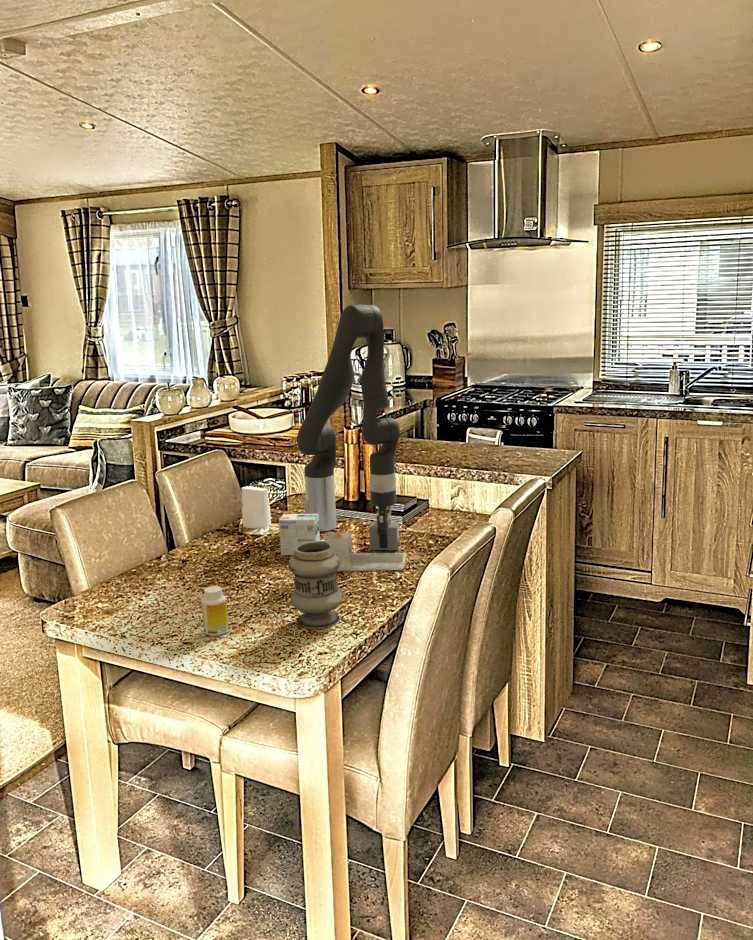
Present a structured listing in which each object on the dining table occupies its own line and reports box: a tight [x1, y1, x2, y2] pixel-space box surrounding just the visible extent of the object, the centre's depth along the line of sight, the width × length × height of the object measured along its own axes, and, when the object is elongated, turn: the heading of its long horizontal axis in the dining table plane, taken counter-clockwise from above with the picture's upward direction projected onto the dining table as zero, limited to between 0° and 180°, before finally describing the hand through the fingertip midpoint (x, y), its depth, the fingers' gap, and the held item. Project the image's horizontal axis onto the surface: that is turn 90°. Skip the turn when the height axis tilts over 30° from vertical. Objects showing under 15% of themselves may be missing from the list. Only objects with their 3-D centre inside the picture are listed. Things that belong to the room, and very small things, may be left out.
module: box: [368, 521, 400, 551], centre depth 246 cm, size 8×6×7 cm
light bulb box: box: [278, 513, 321, 556], centre depth 245 cm, size 11×7×11 cm, turn 84°
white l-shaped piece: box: [325, 531, 407, 572], centre depth 233 cm, size 22×12×9 cm, turn 84°
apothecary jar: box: [288, 540, 344, 630], centre depth 194 cm, size 12×12×18 cm
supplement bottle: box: [200, 585, 230, 637], centre depth 191 cm, size 6×6×10 cm
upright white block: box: [241, 485, 272, 529], centre depth 274 cm, size 9×9×12 cm
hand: (384, 543), depth 247 cm, fingers closed on module, 6 cm apart
